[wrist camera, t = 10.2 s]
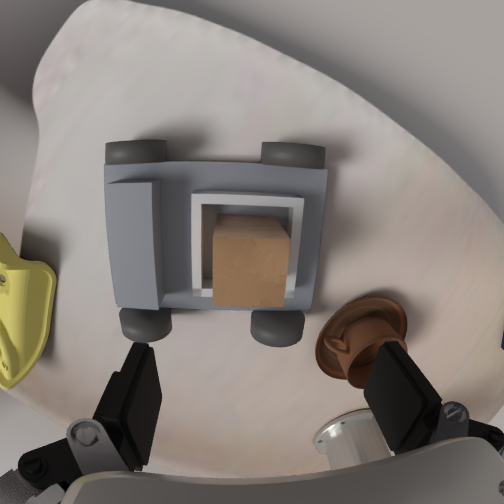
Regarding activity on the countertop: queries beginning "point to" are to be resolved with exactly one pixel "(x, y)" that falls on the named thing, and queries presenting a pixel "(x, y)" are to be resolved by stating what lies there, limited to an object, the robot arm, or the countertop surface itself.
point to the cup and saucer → (359, 338)
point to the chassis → (206, 231)
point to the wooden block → (249, 261)
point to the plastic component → (23, 313)
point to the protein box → (502, 342)
